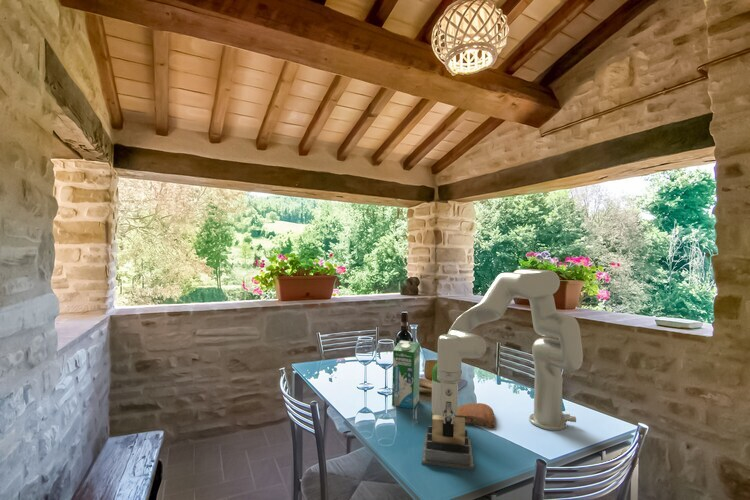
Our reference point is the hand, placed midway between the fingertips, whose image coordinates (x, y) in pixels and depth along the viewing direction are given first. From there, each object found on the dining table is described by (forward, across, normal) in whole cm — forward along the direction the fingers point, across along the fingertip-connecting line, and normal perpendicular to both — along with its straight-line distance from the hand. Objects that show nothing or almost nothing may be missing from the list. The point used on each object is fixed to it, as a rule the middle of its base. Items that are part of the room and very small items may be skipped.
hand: (447, 429), depth 119 cm
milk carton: (+7, +36, +17) cm, 40 cm away
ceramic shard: (+8, +28, -10) cm, 31 cm away
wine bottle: (+7, +22, +2) cm, 23 cm away
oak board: (+6, 0, 0) cm, 6 cm away
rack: (+7, 0, 0) cm, 7 cm away
